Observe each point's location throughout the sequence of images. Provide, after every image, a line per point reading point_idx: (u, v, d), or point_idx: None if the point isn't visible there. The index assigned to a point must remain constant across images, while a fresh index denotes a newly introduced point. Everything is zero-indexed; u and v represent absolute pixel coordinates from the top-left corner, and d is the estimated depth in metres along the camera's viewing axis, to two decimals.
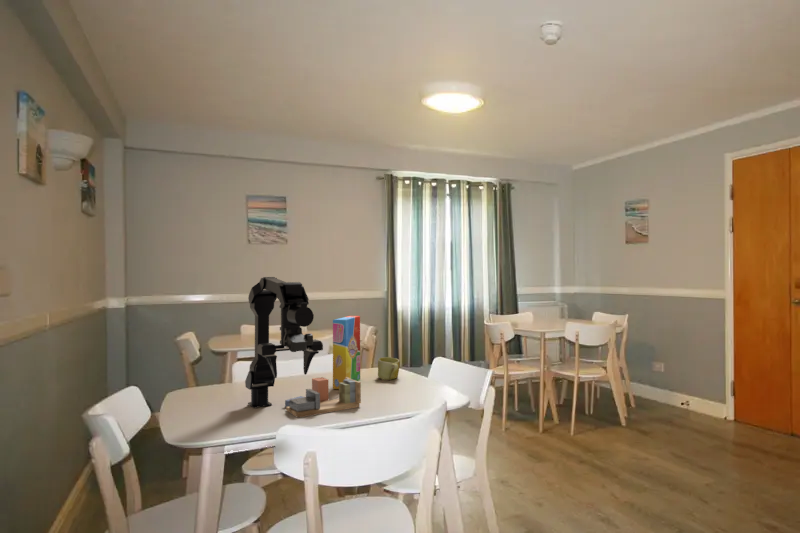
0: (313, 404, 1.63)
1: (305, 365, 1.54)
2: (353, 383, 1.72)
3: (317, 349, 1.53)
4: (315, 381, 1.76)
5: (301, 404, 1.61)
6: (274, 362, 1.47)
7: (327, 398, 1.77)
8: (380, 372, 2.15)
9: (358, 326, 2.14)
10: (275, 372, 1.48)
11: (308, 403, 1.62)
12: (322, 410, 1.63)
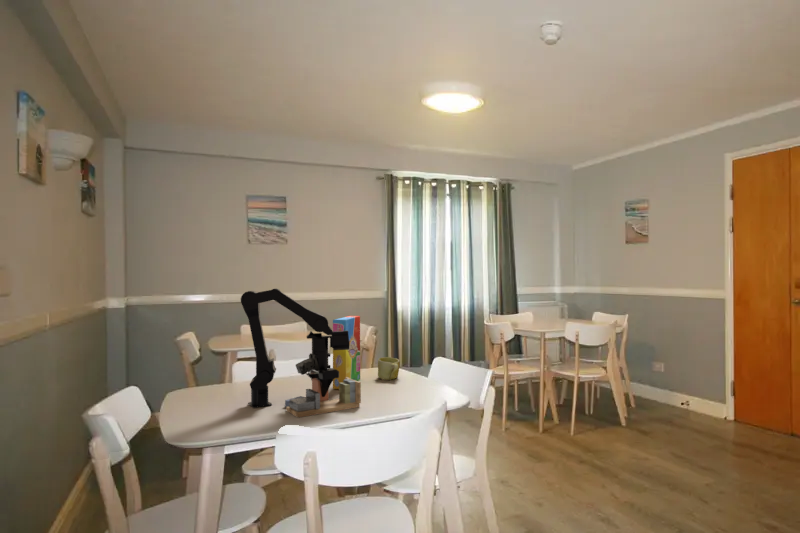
0: (313, 404, 1.63)
1: None
2: (353, 383, 1.72)
3: (320, 377, 1.70)
4: (315, 381, 1.76)
5: (301, 404, 1.61)
6: None
7: (327, 398, 1.77)
8: (380, 372, 2.15)
9: (358, 326, 2.14)
10: None
11: (308, 403, 1.62)
12: (322, 410, 1.63)
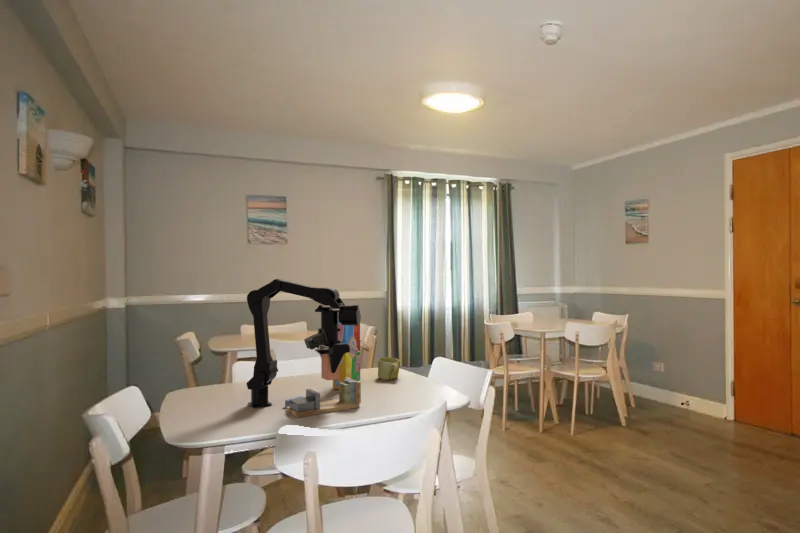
0: (313, 404, 1.63)
1: None
2: (353, 383, 1.72)
3: (331, 352, 1.63)
4: (325, 356, 1.69)
5: (301, 404, 1.61)
6: None
7: (337, 374, 1.69)
8: (380, 372, 2.15)
9: (358, 326, 2.14)
10: None
11: (308, 403, 1.62)
12: (322, 410, 1.63)
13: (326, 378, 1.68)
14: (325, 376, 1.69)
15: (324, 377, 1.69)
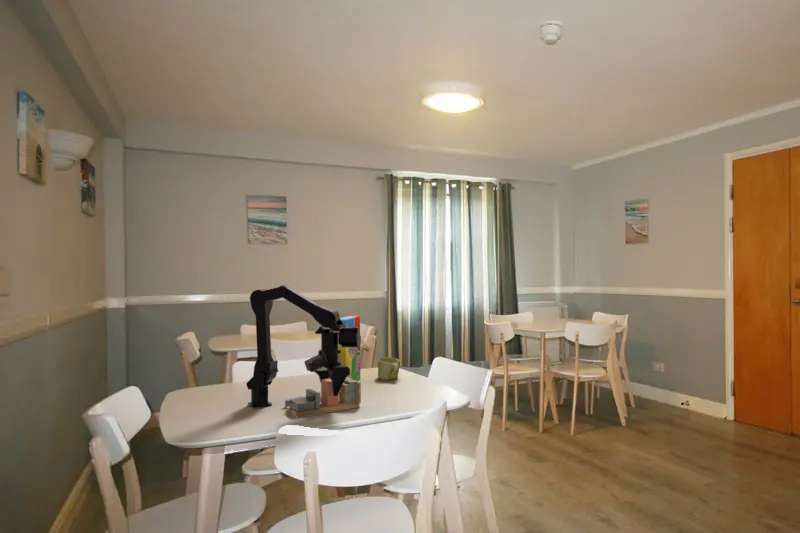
0: (313, 404, 1.63)
1: None
2: (353, 383, 1.72)
3: (331, 375, 1.62)
4: (325, 382, 1.69)
5: (301, 404, 1.61)
6: (319, 377, 1.73)
7: (337, 400, 1.69)
8: (380, 372, 2.15)
9: (358, 326, 2.14)
10: None
11: (308, 403, 1.62)
12: (322, 410, 1.63)
13: (326, 404, 1.68)
14: (325, 402, 1.68)
15: (324, 403, 1.69)
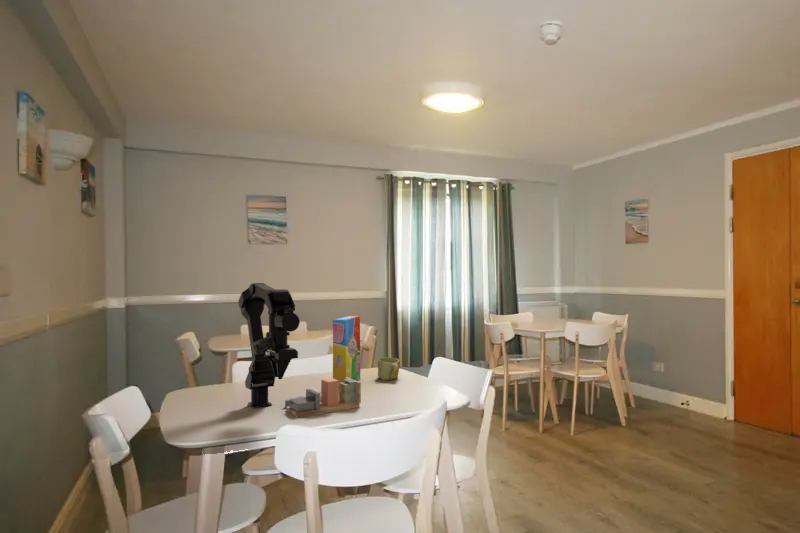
0: (313, 404, 1.63)
1: None
2: (353, 383, 1.72)
3: (276, 357, 1.52)
4: (325, 382, 1.69)
5: (301, 404, 1.61)
6: (271, 362, 1.62)
7: (337, 400, 1.69)
8: (380, 372, 2.15)
9: (358, 326, 2.14)
10: (273, 372, 1.61)
11: (308, 403, 1.62)
12: (322, 410, 1.63)
13: (326, 404, 1.68)
14: (325, 402, 1.68)
15: (324, 403, 1.69)
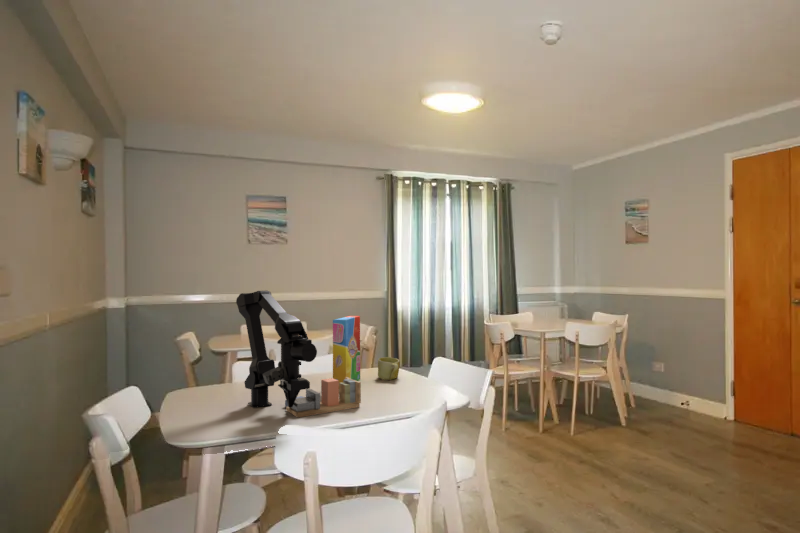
0: (313, 404, 1.63)
1: None
2: (353, 383, 1.72)
3: (289, 388, 1.54)
4: (325, 382, 1.69)
5: (301, 404, 1.61)
6: (284, 392, 1.62)
7: (337, 400, 1.69)
8: (380, 372, 2.15)
9: (358, 326, 2.14)
10: (287, 401, 1.62)
11: (308, 403, 1.62)
12: (322, 410, 1.63)
13: (326, 404, 1.68)
14: (325, 402, 1.68)
15: (324, 403, 1.69)
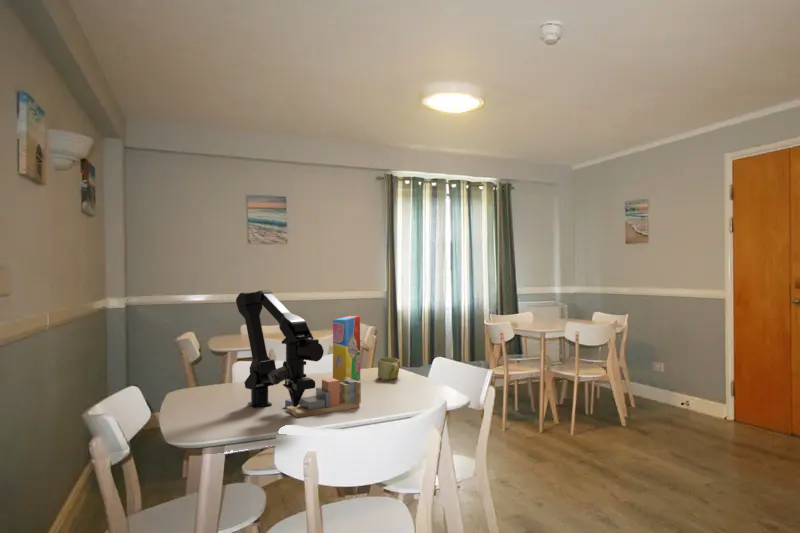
0: (323, 402, 1.65)
1: None
2: (353, 383, 1.72)
3: (294, 388, 1.56)
4: (325, 382, 1.69)
5: (312, 402, 1.63)
6: (289, 391, 1.63)
7: (338, 400, 1.69)
8: (380, 372, 2.15)
9: (358, 326, 2.14)
10: None
11: (319, 401, 1.64)
12: (322, 410, 1.63)
13: None
14: None
15: None
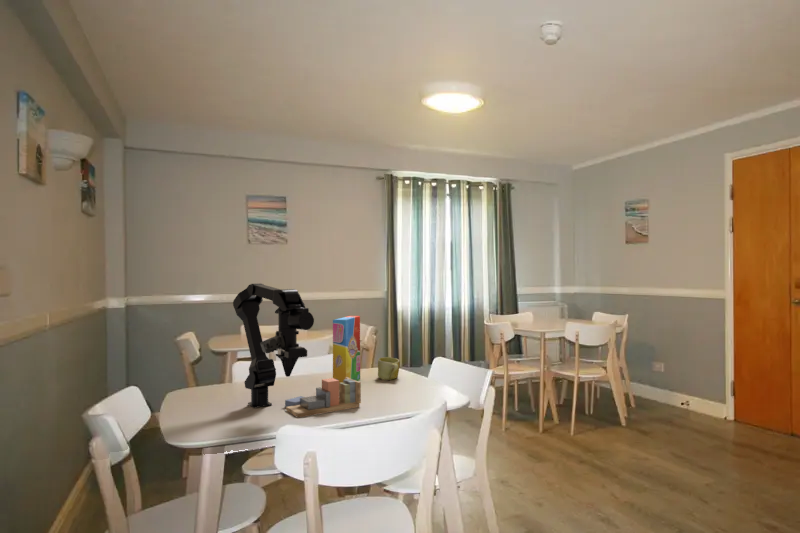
0: (323, 402, 1.65)
1: None
2: (353, 383, 1.72)
3: (286, 356, 1.55)
4: (325, 382, 1.69)
5: (312, 402, 1.63)
6: (282, 361, 1.63)
7: (338, 400, 1.69)
8: (380, 372, 2.15)
9: (358, 326, 2.14)
10: (284, 371, 1.63)
11: (319, 401, 1.64)
12: (322, 410, 1.63)
13: None
14: None
15: None
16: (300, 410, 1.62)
